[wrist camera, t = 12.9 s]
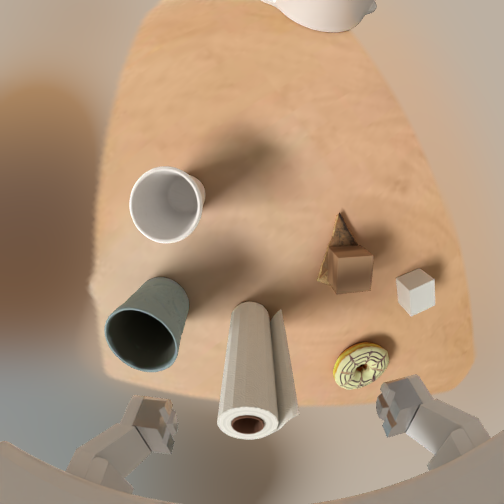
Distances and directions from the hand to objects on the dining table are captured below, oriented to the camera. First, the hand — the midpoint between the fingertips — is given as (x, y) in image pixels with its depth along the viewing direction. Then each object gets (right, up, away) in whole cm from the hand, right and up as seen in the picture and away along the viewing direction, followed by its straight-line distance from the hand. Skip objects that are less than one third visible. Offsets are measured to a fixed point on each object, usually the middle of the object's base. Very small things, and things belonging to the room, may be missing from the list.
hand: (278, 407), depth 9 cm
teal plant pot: (-15, -2, +34) cm, 37 cm away
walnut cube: (+12, +4, +30) cm, 33 cm away
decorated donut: (+19, -15, +38) cm, 45 cm away
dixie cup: (-10, +14, +29) cm, 33 cm away
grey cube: (+26, 0, +33) cm, 42 cm away
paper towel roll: (-1, -5, +34) cm, 35 cm away
